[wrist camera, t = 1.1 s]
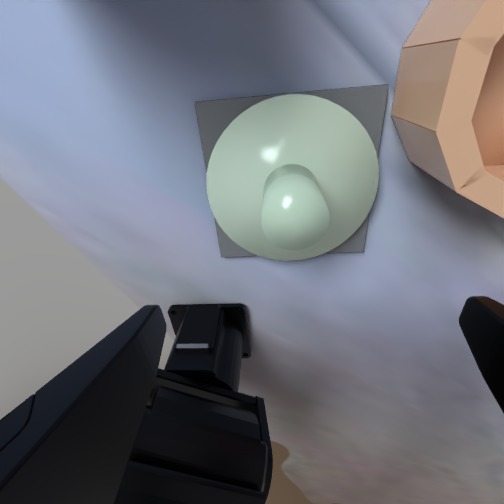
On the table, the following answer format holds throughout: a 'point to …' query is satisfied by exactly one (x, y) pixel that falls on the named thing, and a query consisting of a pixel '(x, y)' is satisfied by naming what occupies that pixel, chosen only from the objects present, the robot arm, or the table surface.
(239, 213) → the lid
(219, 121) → the mat
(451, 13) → the bowl
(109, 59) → the table surface
